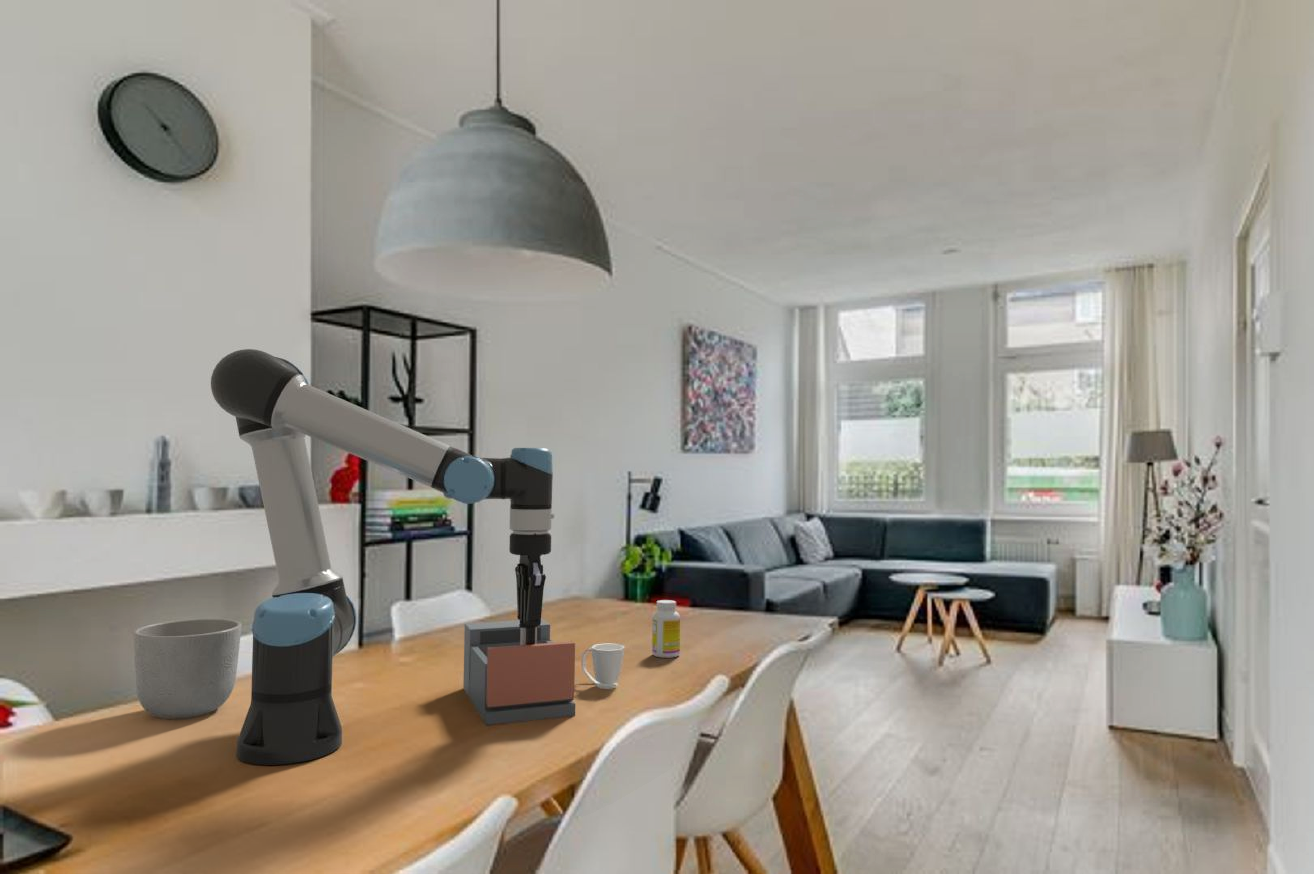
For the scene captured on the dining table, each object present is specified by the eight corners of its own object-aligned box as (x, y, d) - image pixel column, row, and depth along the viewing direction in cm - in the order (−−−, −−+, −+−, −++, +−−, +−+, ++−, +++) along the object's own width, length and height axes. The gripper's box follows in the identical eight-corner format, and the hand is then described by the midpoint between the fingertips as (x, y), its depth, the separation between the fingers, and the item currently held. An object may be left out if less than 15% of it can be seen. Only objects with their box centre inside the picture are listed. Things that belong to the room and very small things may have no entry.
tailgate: (487, 710, 141) (489, 649, 142) (486, 707, 143) (487, 647, 143) (574, 701, 147) (575, 642, 148) (571, 698, 149) (572, 641, 149)
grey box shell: (469, 697, 158) (470, 629, 158) (463, 688, 164) (464, 623, 165) (549, 689, 164) (550, 624, 164) (540, 681, 170) (541, 618, 171)
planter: (222, 693, 158) (224, 614, 159) (252, 713, 146) (255, 627, 147) (120, 711, 147) (123, 626, 147) (143, 733, 134) (147, 641, 135)
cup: (611, 692, 162) (611, 651, 163) (571, 684, 168) (572, 645, 168) (631, 685, 168) (631, 645, 169) (592, 677, 174) (592, 639, 174)
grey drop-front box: (486, 724, 141) (487, 666, 142) (469, 697, 158) (470, 645, 158) (575, 715, 147) (576, 659, 148) (549, 689, 164) (550, 639, 164)
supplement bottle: (685, 654, 196) (685, 600, 197) (670, 659, 191) (671, 604, 191) (661, 650, 200) (662, 598, 200) (646, 655, 194) (647, 601, 195)
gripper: (560, 534, 144) (558, 669, 143) (541, 528, 156) (539, 652, 155) (518, 535, 141) (515, 672, 140) (502, 529, 153) (500, 656, 152)
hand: (528, 662), depth 148 cm, fingers closed
